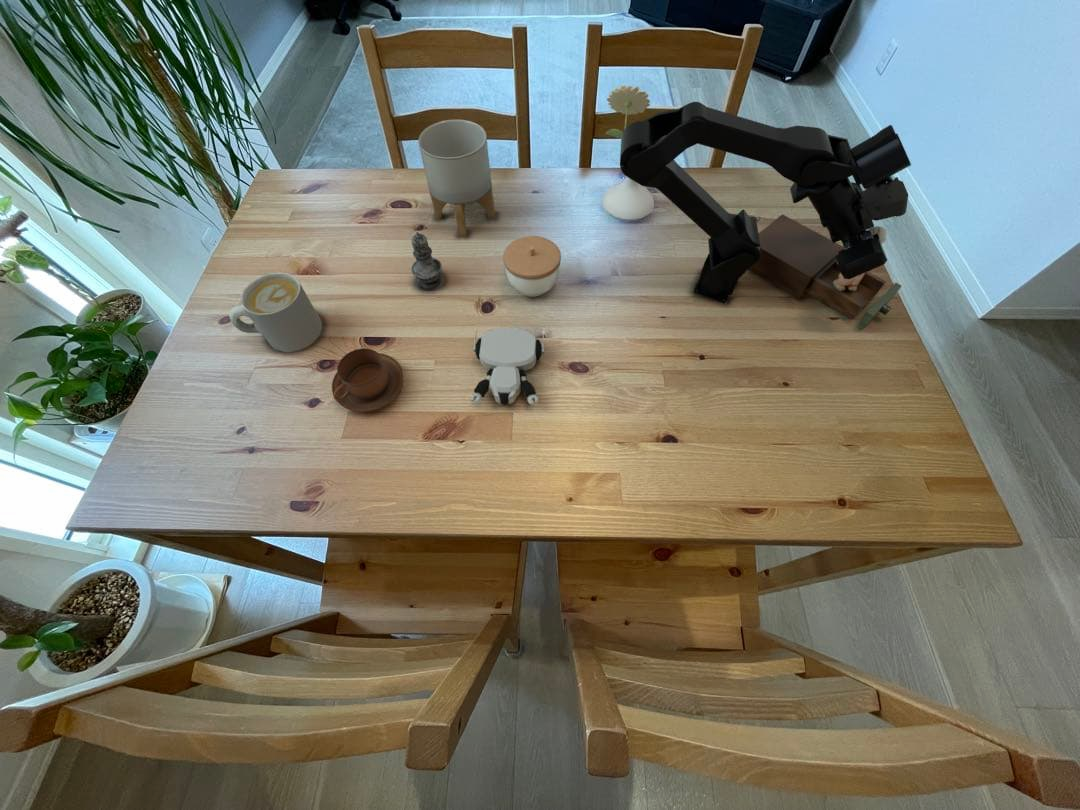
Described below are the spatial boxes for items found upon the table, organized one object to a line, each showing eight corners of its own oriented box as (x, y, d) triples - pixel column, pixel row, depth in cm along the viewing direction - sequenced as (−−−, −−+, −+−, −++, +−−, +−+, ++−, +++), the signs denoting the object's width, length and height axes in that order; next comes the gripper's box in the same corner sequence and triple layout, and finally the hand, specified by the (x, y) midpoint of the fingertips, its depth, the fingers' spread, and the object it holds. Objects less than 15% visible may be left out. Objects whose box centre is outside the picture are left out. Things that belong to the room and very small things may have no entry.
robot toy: (541, 413, 86) (544, 339, 93) (541, 400, 82) (544, 324, 89) (469, 411, 87) (478, 338, 93) (465, 398, 82) (474, 323, 89)
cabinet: (830, 269, 102) (844, 247, 97) (798, 299, 98) (811, 277, 93) (772, 236, 107) (782, 214, 103) (739, 263, 103) (748, 241, 98)
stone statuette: (410, 287, 101) (394, 238, 91) (424, 267, 104) (410, 218, 94) (436, 295, 100) (423, 246, 90) (450, 275, 103) (439, 225, 93)
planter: (493, 236, 109) (483, 157, 94) (432, 236, 109) (413, 158, 94) (496, 198, 116) (488, 119, 100) (439, 198, 116) (423, 119, 101)
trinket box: (530, 314, 97) (528, 277, 89) (494, 284, 101) (490, 246, 93) (571, 286, 100) (573, 249, 92) (535, 258, 105) (534, 220, 97)
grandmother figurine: (856, 276, 97) (895, 219, 86) (866, 290, 95) (907, 233, 84) (818, 280, 96) (852, 223, 86) (828, 295, 94) (864, 238, 84)
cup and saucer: (384, 425, 84) (373, 405, 79) (322, 404, 87) (307, 384, 81) (418, 370, 90) (409, 348, 85) (359, 352, 93) (347, 329, 87)
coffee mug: (325, 309, 98) (304, 270, 90) (318, 349, 93) (295, 312, 85) (255, 314, 98) (227, 275, 89) (243, 355, 93) (213, 318, 84)
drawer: (896, 303, 96) (908, 289, 92) (868, 333, 92) (880, 319, 89) (830, 266, 101) (839, 251, 98) (801, 293, 97) (809, 278, 94)
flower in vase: (661, 203, 114) (687, 83, 92) (638, 232, 109) (659, 113, 87) (609, 184, 118) (622, 65, 96) (585, 212, 112) (593, 93, 91)
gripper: (909, 210, 71) (939, 275, 80) (878, 134, 81) (908, 200, 90) (825, 250, 78) (861, 306, 87) (805, 176, 88) (839, 233, 97)
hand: (868, 259), depth 90 cm, fingers closed on grandmother figurine, 3 cm apart
